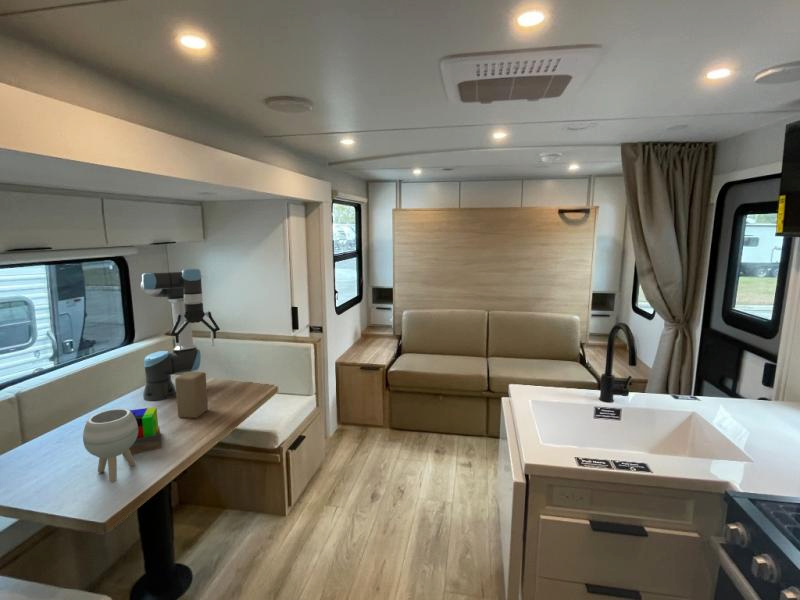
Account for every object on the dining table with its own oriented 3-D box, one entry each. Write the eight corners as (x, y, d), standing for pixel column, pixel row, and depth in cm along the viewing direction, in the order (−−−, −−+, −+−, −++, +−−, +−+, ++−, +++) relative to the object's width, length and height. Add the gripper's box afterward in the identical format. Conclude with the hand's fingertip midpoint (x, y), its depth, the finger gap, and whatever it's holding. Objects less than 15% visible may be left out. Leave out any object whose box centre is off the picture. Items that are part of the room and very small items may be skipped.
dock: (124, 439, 169) (123, 427, 168) (160, 432, 176) (158, 420, 175) (123, 456, 157) (121, 443, 156) (161, 447, 164) (160, 435, 163)
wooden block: (209, 409, 198) (206, 371, 195) (197, 419, 189) (194, 379, 185) (190, 408, 199) (187, 370, 196) (177, 417, 190) (174, 377, 186)
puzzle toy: (131, 432, 169) (129, 410, 167) (158, 428, 173) (156, 406, 171) (125, 443, 160) (122, 420, 158) (153, 439, 164) (151, 417, 162)
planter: (85, 472, 146) (78, 415, 142) (136, 455, 157) (131, 402, 154) (91, 492, 135) (84, 431, 131) (146, 473, 146) (141, 416, 142)
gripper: (162, 306, 172) (166, 353, 175) (224, 301, 185) (226, 345, 189) (161, 303, 178) (165, 349, 181) (221, 299, 191) (224, 341, 195)
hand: (196, 347), depth 185 cm, fingers open, 13 cm apart
